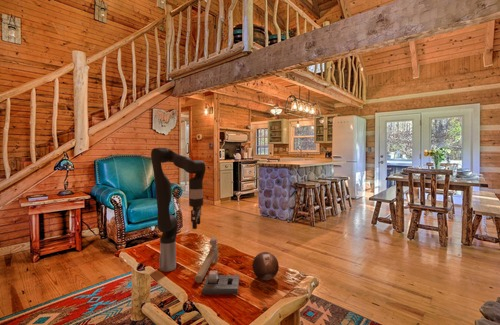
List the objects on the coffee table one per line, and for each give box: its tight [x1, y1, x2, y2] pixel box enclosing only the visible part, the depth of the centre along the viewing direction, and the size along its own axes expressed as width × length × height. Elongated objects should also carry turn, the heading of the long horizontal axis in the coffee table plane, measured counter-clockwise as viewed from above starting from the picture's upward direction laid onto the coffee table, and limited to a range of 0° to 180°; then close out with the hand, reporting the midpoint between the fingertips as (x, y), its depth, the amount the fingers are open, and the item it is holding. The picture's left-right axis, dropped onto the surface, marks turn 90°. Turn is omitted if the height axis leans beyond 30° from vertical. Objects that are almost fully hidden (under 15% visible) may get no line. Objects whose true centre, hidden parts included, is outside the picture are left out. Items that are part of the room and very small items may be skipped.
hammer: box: [194, 237, 219, 284], centre depth 153 cm, size 16×5×30 cm
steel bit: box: [208, 270, 219, 284], centre depth 135 cm, size 4×4×8 cm
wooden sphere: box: [251, 251, 280, 281], centre depth 144 cm, size 15×15×15 cm
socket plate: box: [202, 274, 240, 295], centre depth 135 cm, size 18×14×3 cm
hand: (196, 226), depth 137 cm, fingers open, 8 cm apart
